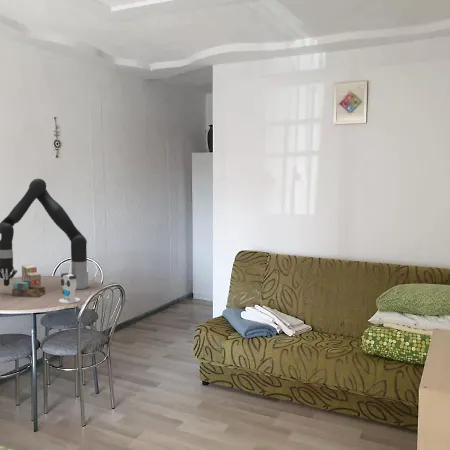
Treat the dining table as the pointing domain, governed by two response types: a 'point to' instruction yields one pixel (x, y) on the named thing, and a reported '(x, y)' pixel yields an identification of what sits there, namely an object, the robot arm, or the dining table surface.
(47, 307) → the dining table surface
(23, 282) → the block
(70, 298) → the panda figurine
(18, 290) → the wooden rail tray
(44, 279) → the dining table surface
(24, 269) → the stack of blocks
